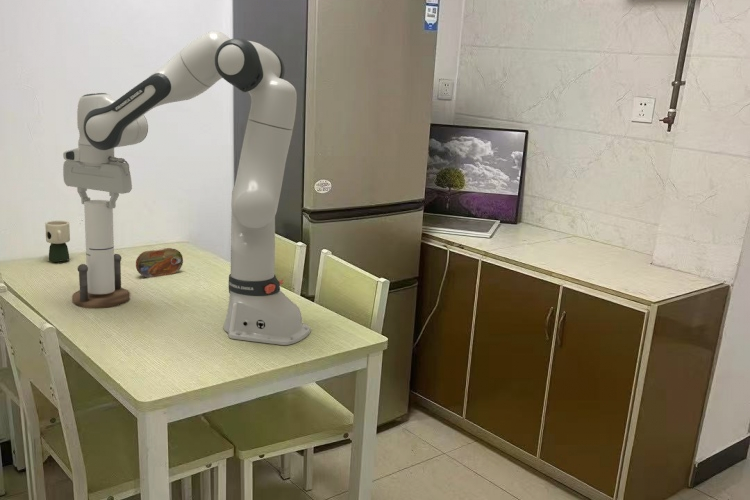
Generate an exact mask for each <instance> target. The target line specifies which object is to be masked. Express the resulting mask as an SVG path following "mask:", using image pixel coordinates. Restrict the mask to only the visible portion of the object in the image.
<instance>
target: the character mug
mask: <svg viewBox="0 0 750 500" xmlns="http://www.w3.org/2000/svg"><path fill="white" fill-rule="evenodd" d="M44 224H45V225H44V227H45V240H46V241H45V242H46V243H48V244H50V245H49V248H48V249H49V250H48V261H49V262H51V263H56V262H58V263H61V262H64V261H65V262H66V261H69V260H70V254H69V248H68V244H67V243H69V242H70V240H71V237H70V235H71V232H70V222H69V221H67V220H50V221H46V222H45V223H44Z"/></svg>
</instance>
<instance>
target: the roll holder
mask: <svg viewBox="0 0 750 500" xmlns="http://www.w3.org/2000/svg"><path fill="white" fill-rule="evenodd" d="M121 261H122V255H121V254H119V253H114V276H115V291H114V292H111V293H108V294H91V293H88V284H87V271H88V267H87V265H86V264H84V263H81V264H79V265H78V266H77V271H78V280H79V283H78V285H79V290H77V291H75V292H74V293H72V294H71V295H72V296H71V299H72V301H71V302H72V303H73V304H74V305H75V306H76V307H80V308H85V309H106V308H113V307H119V306H121V305H124V304H126V303H128V302H129V301H130V300H131V295H130V294H131V293H130V291H129V289H125V288H123V287H122V273H121V271H122V269H121V268H122V267H121V265H122V263H121Z"/></svg>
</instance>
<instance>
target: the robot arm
mask: <svg viewBox="0 0 750 500" xmlns="http://www.w3.org/2000/svg"><path fill="white" fill-rule="evenodd" d="M285 73H286V69H285V63H284V61H283V59H282V58H281V56H280V55H279V53H277V52H276V51H274V49H271V48H268V47H266V46H264V45H262V44H261V43H259V42H255V41H252V40H247V39H244V38H231V39H230V37H229V36H228V35H226V34H225V33H223V32H221V31H217V30H212V31H208V32H206V33H205V34H202V35H201V36H199V37H197V38H196V39H194V40H193V41H191V42H190V43H189V44H187V45H186V46H184V47H183V48H182V49H181V50H179V51H178V52H177V53H176V54H175V55H174V56H173V57H171V58H170V59H168V61H167V62H166V63H164V64H163V65H162V66H161V67H160V68H158V69H157V70H156V71H154V72H153V73H152V74H151V75H149V76H148V77H147V78H145V79H144V80H142V81H141V82H140V83H138V84H137V85H136V86H134V87H133V88H131V89H130V90H128V91H127V92H126V93H125V94H123V95H122V96H120V97H119V98H118V99H116V100H115V99H114V98H113V96H111V94H108V93H106V92H96V93H87V94H84V95H82V96H81V97H80V98H79V100H78V103H77V111H76V113H77V118H76V119H77V123H76V124H77V130H78V132H79V133H78V134H79V137H78V141H77V142H78V143H77V146H78V147H76V148H73V149H70V150H66V151H64V152H63V154H62V156H63V159H64V160H65V161H64V162H63V166H62V167H63V169H62V170H63V171H62V172H63V173H62V175H63V176H62V177H63V182H64V185H66V186H67V187H71V188H72V187H73V188H76V191H77V194H78V195H79V197H80V199H81V205H84V202H85V201H89V200H91V197H88V194H87V191H88V190H93V191H100V192H107V193H108V194H109V197H110V199H109V200H108V202H107V208H111V209H113V210H114V209H115V208H116V206H117V205H116V204H117V203H116V202H117V200H118V198H119V196H120V194H121V195H124V194H128V193H130V192H131V191H132V189H133V185H132V177H131V170H130V164H129V163H128V161H127V160H126V159H125V158H122V157H117V156H116V157H115V148H120V147H128V146H134V145H137V144H139V143H141V142H143V141H144V140H145V139H146V138H147V136H148V132H149V131H148V130H149V125H148V121H147V120H148V119H147V118H146V117H145V114H147V113H148V112H150V111H152V110H153V109H155V108H156V107H157V108H158V107H159V106H162V105H166V104H171V103H176V102H183V101H188V100H192V99H194V98H196V97H198V96H200V95H201V94H203V93H205V92H206V91H208V90H209V89H210V88H211V87H213V86H214V85H215V84H216V83H217V82H219V81H220V80H221V79H223V80H225V81H226V82H227V83H229V84H230V85H232V86H234V87H235V88H236V89H238V90H240V91H241V92H242V93H248V94H249V96H250V109H249V112H248V113H249V114H248V117H247V122H246V127H245V130H244V131H245V132H244V135H243V136H244V137H243V141H242V146H241V151H240V157H239V161H238V162H239V163H238V167H237V172H236V178H235V182H234V187H233V189H232V192H231V203H230V204H231V207H230V208H231V217H230V218H231V222H230V223H231V224H230V225H231V226H230V228H231V229H230V230H231V231H230V237H231V238H230V273H229V275H228V293H229V297H228V306H227V307H228V308H227V313H226V316H225V320H224V323H223V330H224V331H225V332H227V334H228V338H230V339H232V340H240V341H249V342H253V343H254V342H255V343H261V344H262V343H263V344H270V345H271V344H272V345H280V346H289V345H292V344H296V343H299V342H300V341H302V340H304V339H305V338H306V337H308V336H309V334H311V326H310V325H309V324H306V323H303V317H302V311H301V309H300V307H299V305H297V304H296V303H294V302H293V301H292V300H291V299H290V298H289V297H288V296H287V295H286V294H285V293H284V292H283V291H281V288H280V287H281V285H283V284H284V282H283V281H284V278H283V279H281V280H278V277H277V275H276V274H275V260H276V215H277V212H278V206H279V202H280V197H281V193H282V185H283V181H284V175H285V169H286V164H287V159H288V158H287V157H288V154H289V149H290V144H291V141H292V137H293V131H294V126H295V121H296V114H297V104H298V103H297V100H298V99H297V89H296V88H295V86H294V85H293V84H291V82H289V81H288V80H286V79H284V78H285Z"/></svg>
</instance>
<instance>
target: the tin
mask: <svg viewBox="0 0 750 500" xmlns="http://www.w3.org/2000/svg"><path fill="white" fill-rule="evenodd" d="M183 263H184V258H183V255H182V252H181V251H180V250H178V249H176V248H172V247H167V248H166V247H165V248H159V249H152V250H151V249H150V250H146V251H143V252H141V253H140V254H139V255H138V256H137V258H136V260H135V268H136V270H137V272H138V273H139V274H140V275H141V276H143V277H144V278H149V279H150V278H157V277H164V276H168V275H174V274H176V273H178V272H179V271H180V270H181V269H182V266H183Z"/></svg>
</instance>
